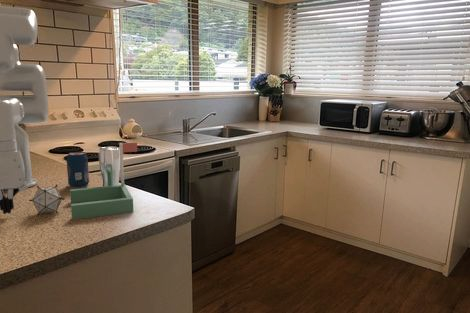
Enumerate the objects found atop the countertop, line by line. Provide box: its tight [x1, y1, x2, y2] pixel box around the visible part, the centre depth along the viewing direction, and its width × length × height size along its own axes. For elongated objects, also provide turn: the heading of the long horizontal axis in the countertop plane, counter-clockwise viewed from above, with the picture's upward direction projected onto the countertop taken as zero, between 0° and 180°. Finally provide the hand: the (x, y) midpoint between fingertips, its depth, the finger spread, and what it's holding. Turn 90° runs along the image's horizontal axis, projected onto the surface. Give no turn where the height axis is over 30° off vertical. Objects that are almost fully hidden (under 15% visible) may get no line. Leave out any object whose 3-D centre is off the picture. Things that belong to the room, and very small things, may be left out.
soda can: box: [66, 151, 90, 189], centre depth 130 cm, size 7×7×12 cm
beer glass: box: [98, 146, 121, 187], centre depth 125 cm, size 7×7×15 cm
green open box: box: [69, 141, 138, 220], centre depth 110 cm, size 21×16×18 cm
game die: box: [28, 184, 65, 216], centre depth 104 cm, size 9×8×10 cm
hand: (7, 211), depth 100 cm, fingers closed
